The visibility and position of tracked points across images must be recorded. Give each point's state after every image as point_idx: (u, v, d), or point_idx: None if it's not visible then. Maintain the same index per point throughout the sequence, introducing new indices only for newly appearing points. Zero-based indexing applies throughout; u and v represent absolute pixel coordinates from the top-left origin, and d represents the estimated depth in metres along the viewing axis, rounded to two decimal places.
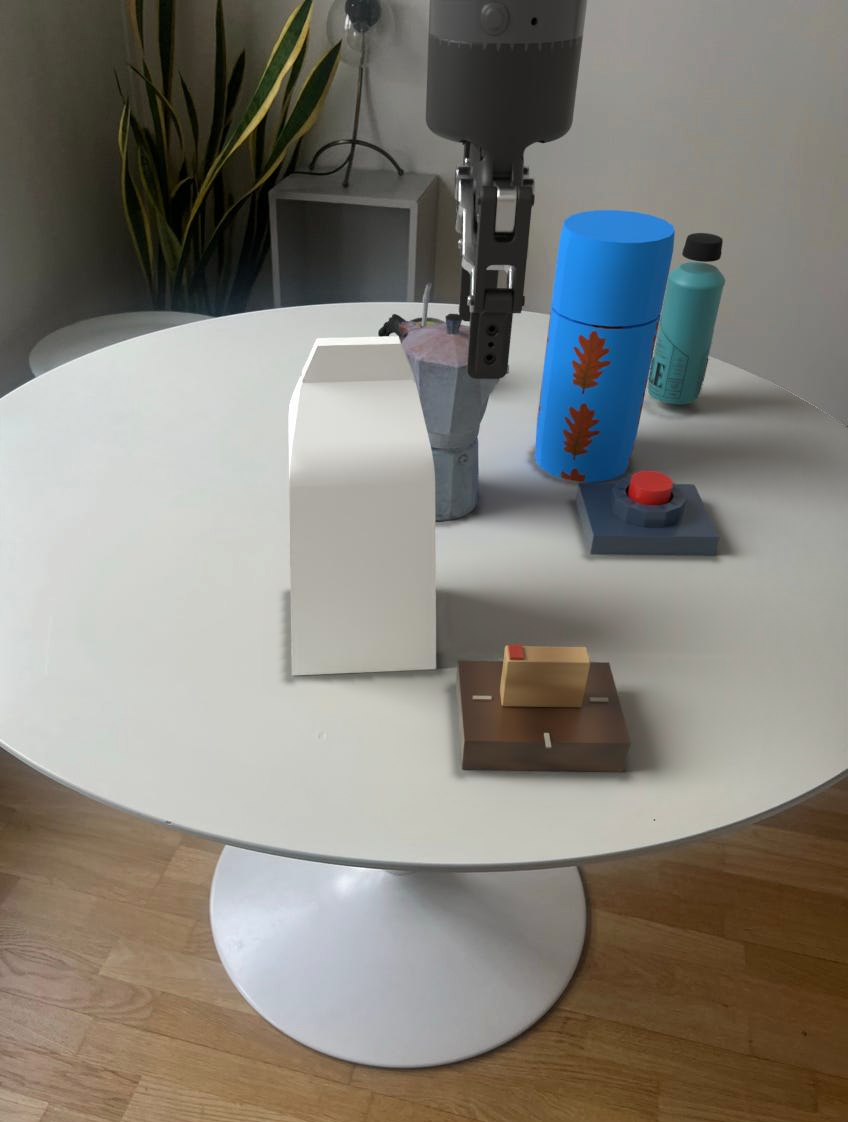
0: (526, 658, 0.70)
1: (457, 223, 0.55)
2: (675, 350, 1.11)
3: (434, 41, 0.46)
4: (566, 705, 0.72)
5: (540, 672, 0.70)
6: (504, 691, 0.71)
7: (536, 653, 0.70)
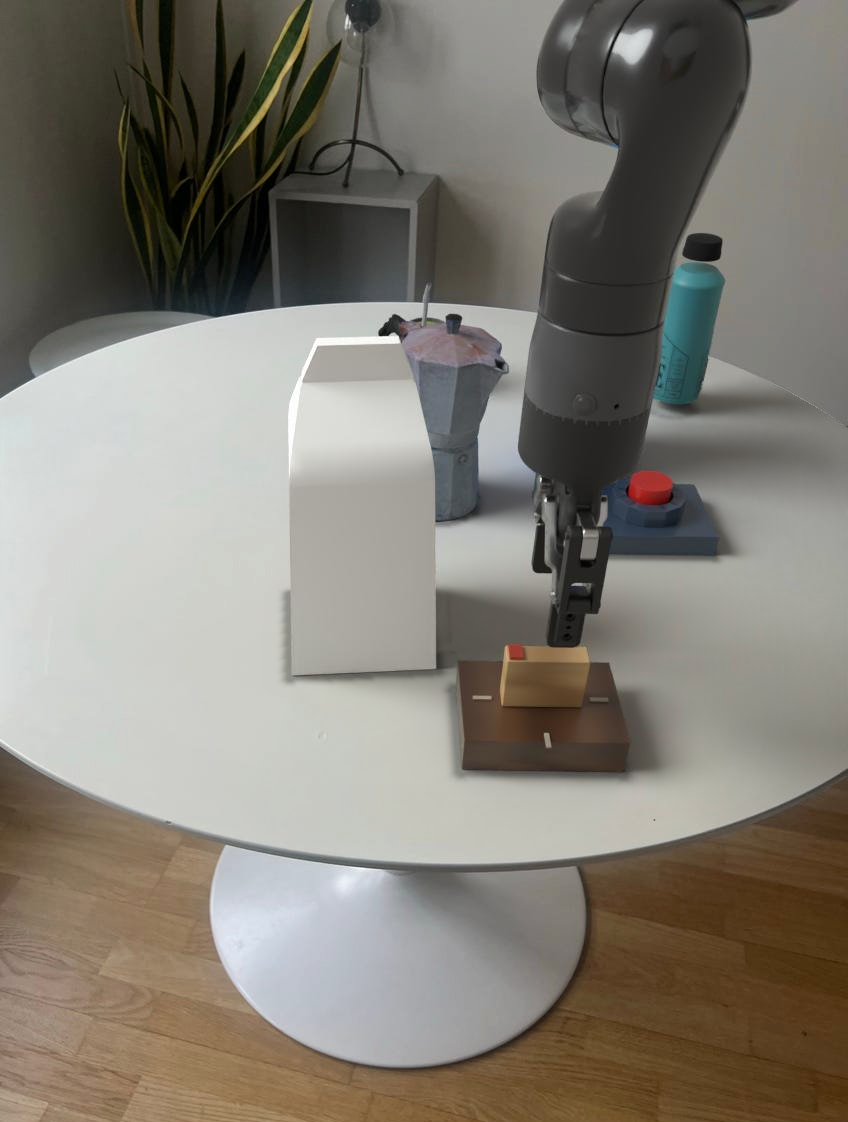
0: (526, 658, 0.70)
1: (536, 509, 0.65)
2: (675, 350, 1.11)
3: (530, 405, 0.56)
4: (566, 705, 0.72)
5: (540, 672, 0.70)
6: (504, 691, 0.71)
7: (536, 653, 0.70)
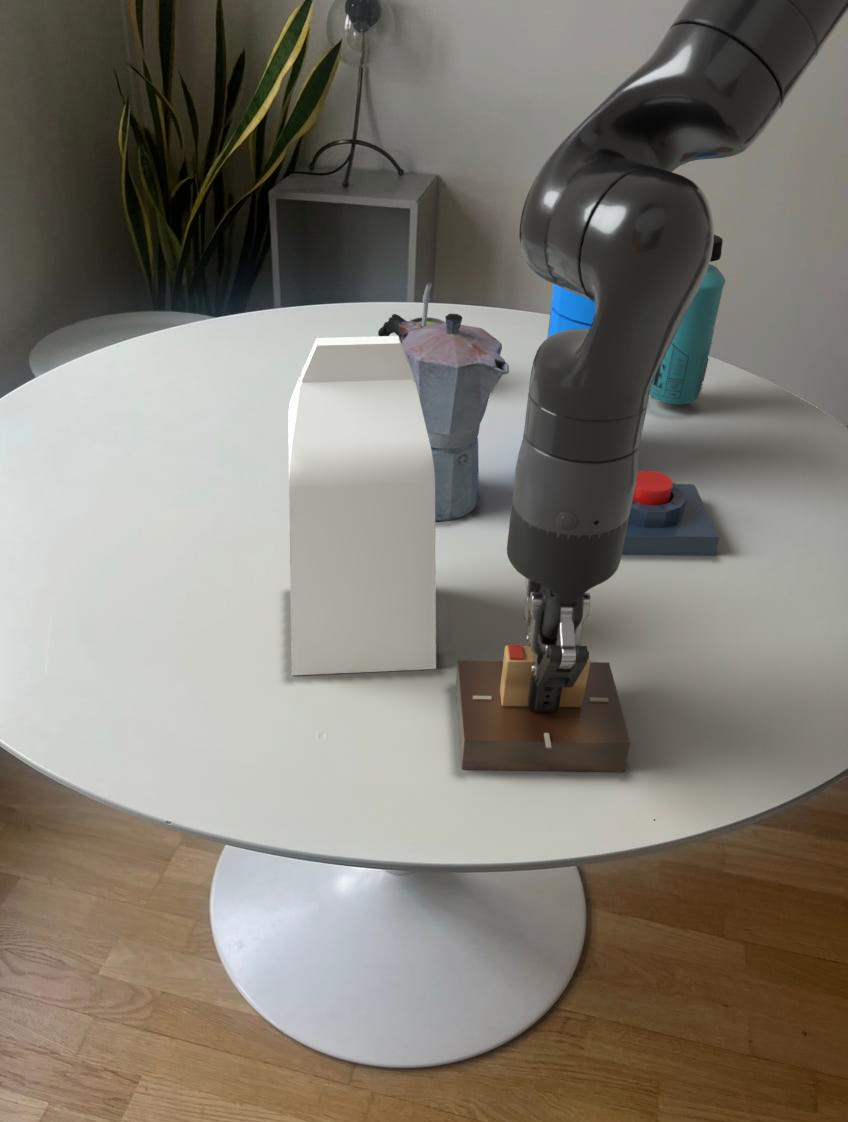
0: (526, 658, 0.70)
1: (527, 616, 0.69)
2: (675, 350, 1.11)
3: (518, 517, 0.61)
4: (566, 705, 0.72)
5: None
6: (504, 691, 0.71)
7: None
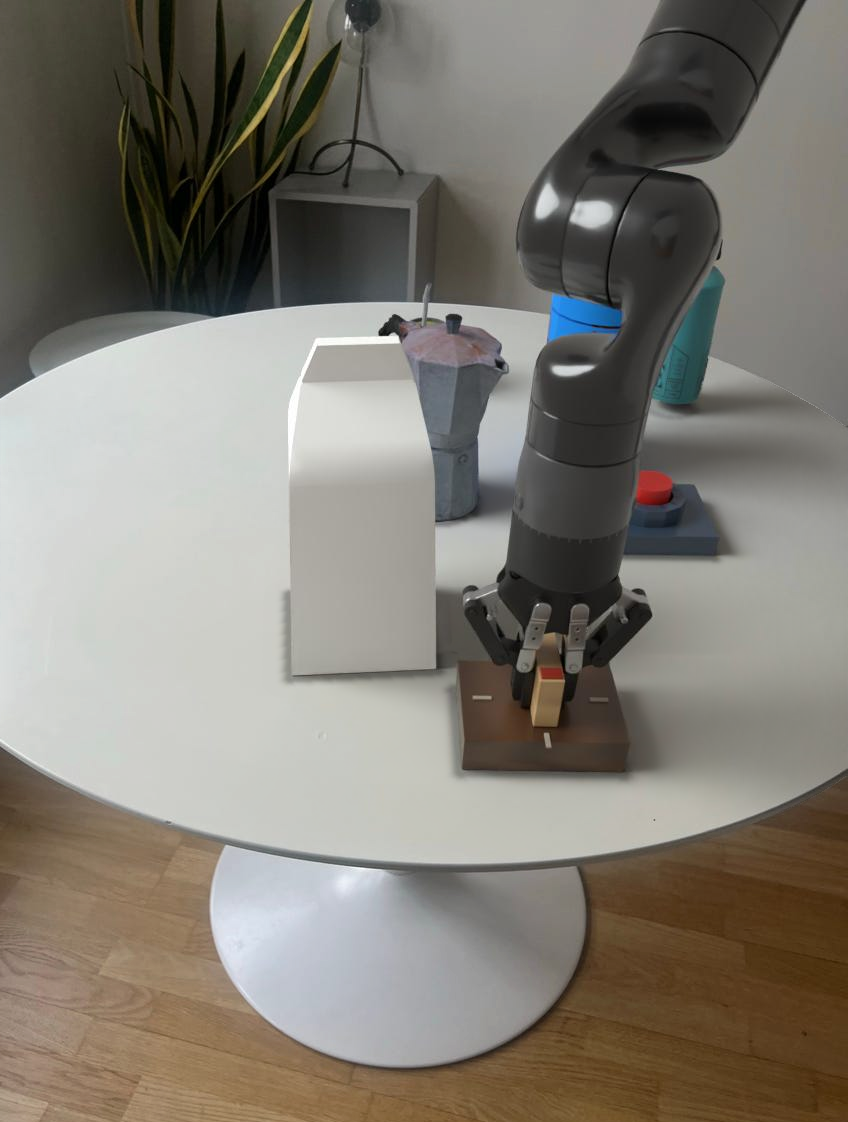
0: (557, 667, 0.69)
1: (541, 642, 0.67)
2: (675, 350, 1.11)
3: (600, 541, 0.60)
4: None
5: None
6: (559, 711, 0.70)
7: (548, 660, 0.69)
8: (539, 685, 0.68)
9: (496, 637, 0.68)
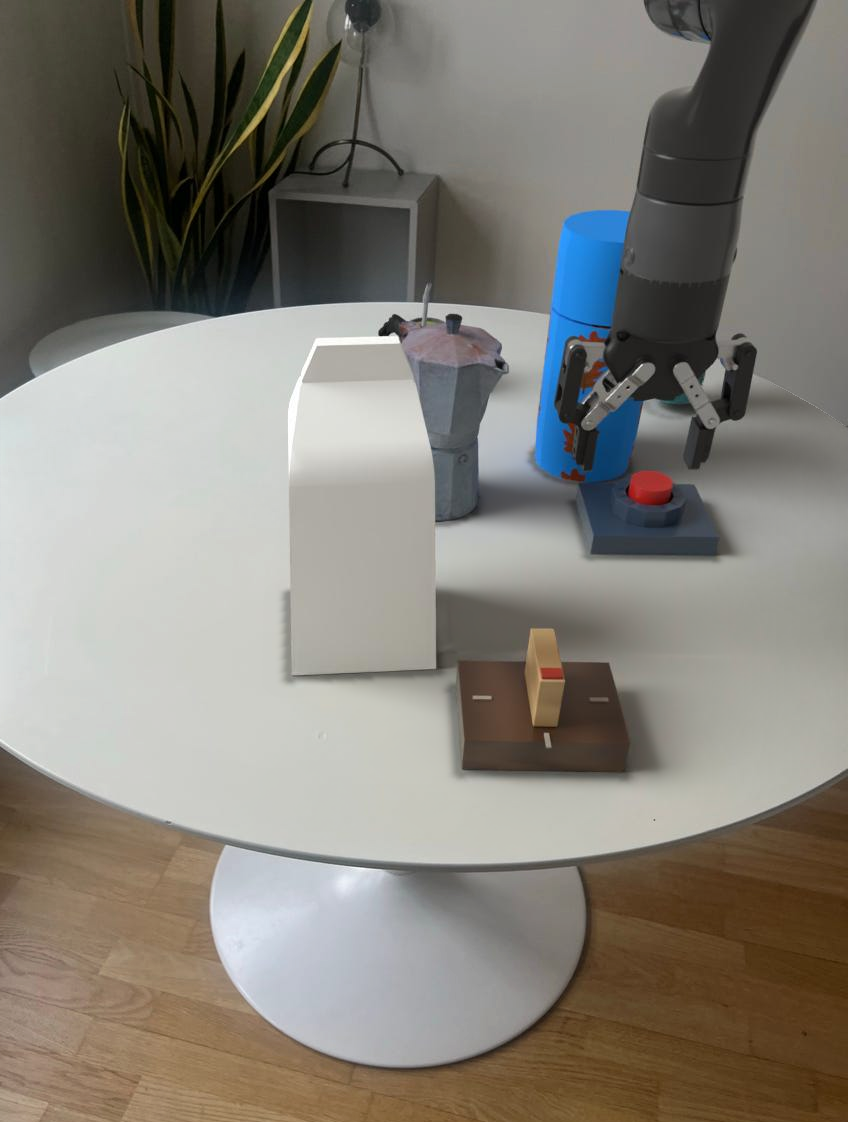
0: (557, 667, 0.69)
1: (621, 403, 0.73)
2: None
3: (708, 285, 0.65)
4: None
5: None
6: (559, 711, 0.70)
7: (548, 660, 0.69)
8: (539, 685, 0.68)
9: (578, 392, 0.72)
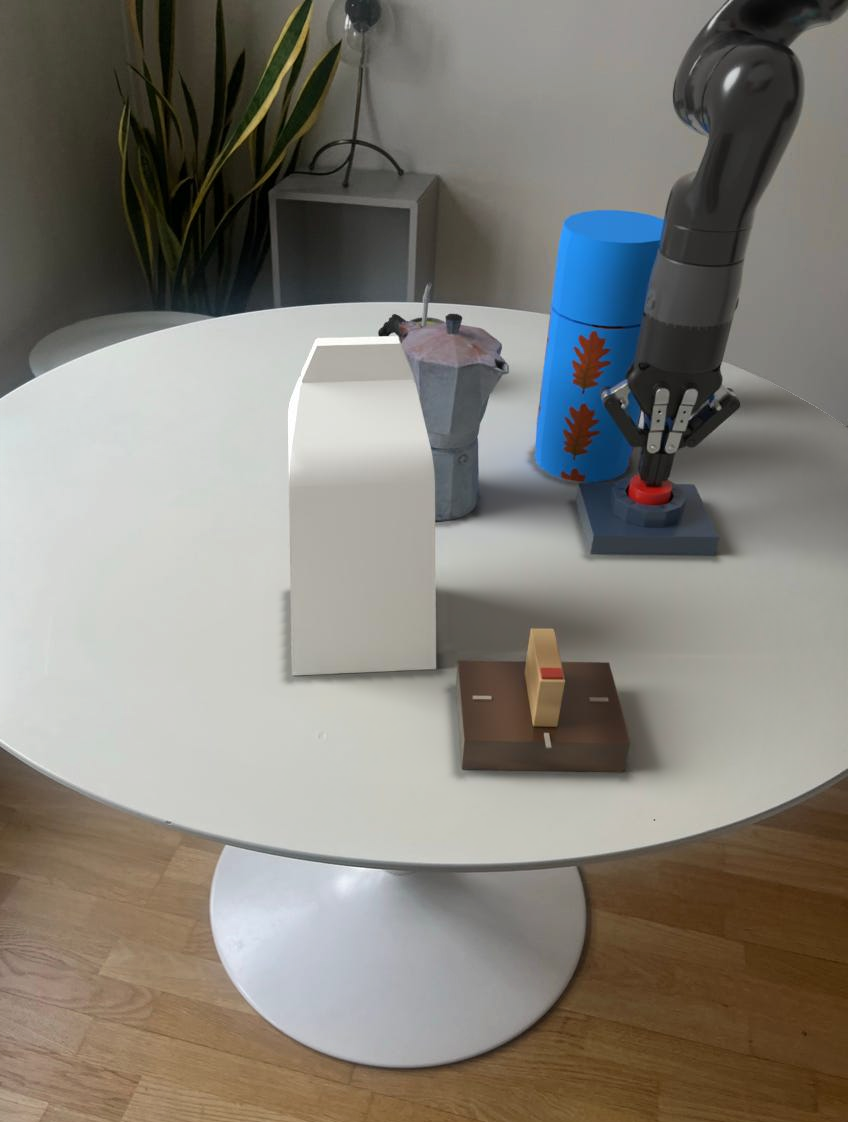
0: (557, 667, 0.69)
1: (664, 423, 0.88)
2: None
3: (713, 328, 0.81)
4: None
5: None
6: (559, 711, 0.70)
7: (548, 660, 0.69)
8: (539, 685, 0.68)
9: (630, 422, 0.89)
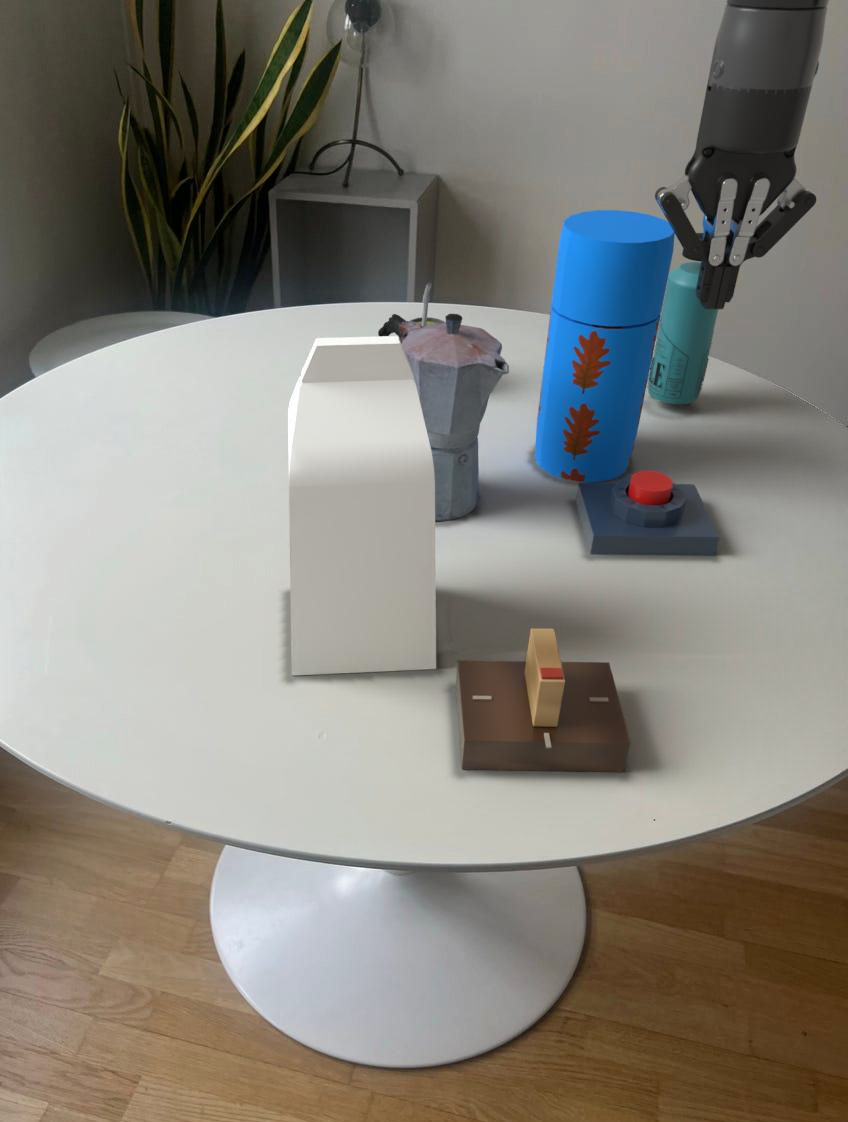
0: (557, 667, 0.69)
1: (730, 225, 0.78)
2: (675, 350, 1.11)
3: (792, 93, 0.70)
4: None
5: None
6: (559, 711, 0.70)
7: (548, 660, 0.69)
8: (539, 685, 0.68)
9: (691, 226, 0.78)
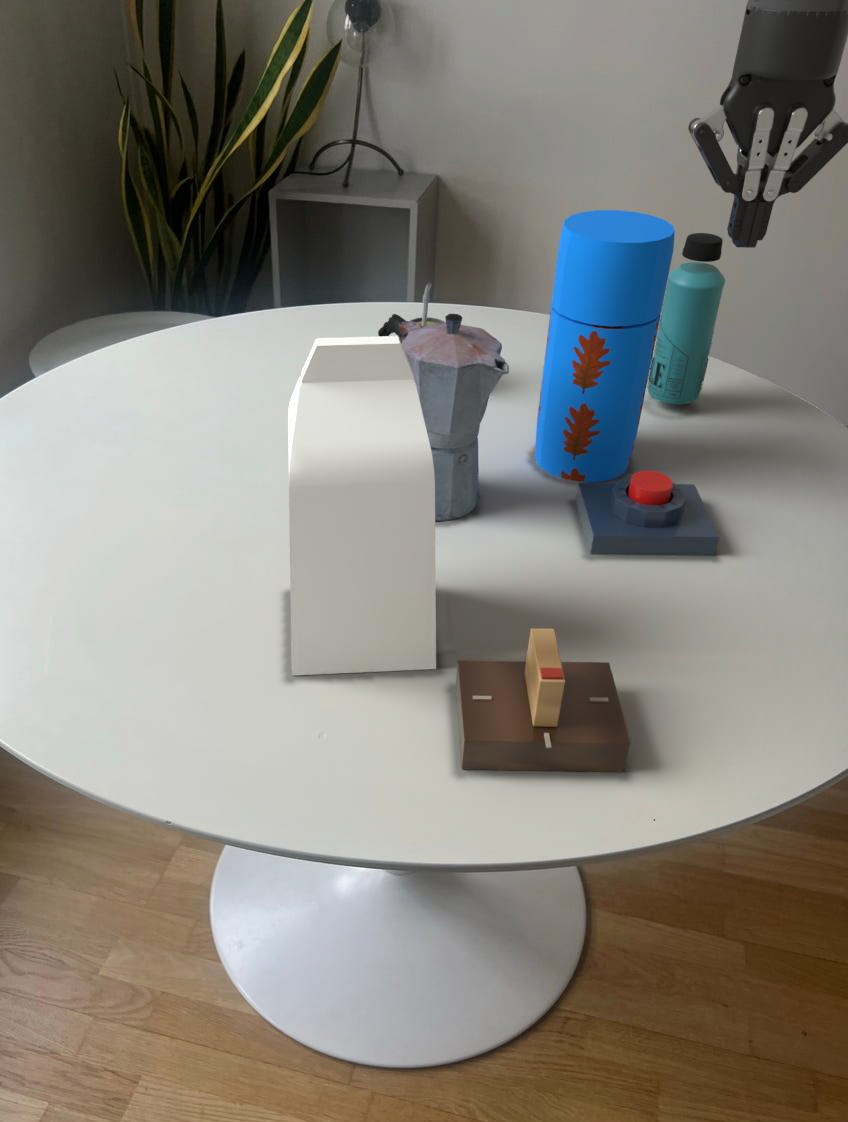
0: (557, 667, 0.69)
1: (765, 157, 0.76)
2: (675, 350, 1.11)
3: (834, 15, 0.68)
4: None
5: None
6: (559, 711, 0.70)
7: (548, 660, 0.69)
8: (539, 685, 0.68)
9: (725, 158, 0.76)
